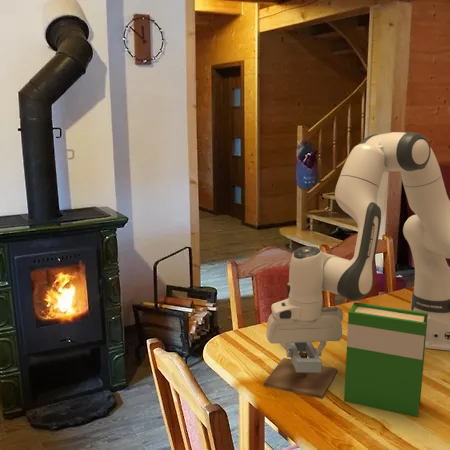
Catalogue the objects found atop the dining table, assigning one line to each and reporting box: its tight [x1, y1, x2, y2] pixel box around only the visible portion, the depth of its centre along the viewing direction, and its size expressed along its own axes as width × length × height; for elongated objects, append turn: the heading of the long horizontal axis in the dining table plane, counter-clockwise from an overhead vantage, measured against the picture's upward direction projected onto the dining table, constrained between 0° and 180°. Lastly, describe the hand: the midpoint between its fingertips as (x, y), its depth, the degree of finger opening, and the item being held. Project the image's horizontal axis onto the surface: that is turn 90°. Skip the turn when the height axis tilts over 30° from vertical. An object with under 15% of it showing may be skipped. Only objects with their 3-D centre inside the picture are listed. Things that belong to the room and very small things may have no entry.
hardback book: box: [343, 301, 428, 418], centre depth 135 cm, size 18×7×24 cm, turn 66°
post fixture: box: [263, 352, 338, 400], centre depth 148 cm, size 16×16×7 cm
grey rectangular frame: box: [287, 342, 323, 372], centre depth 147 cm, size 14×6×3 cm, turn 4°
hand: (303, 355), depth 147 cm, fingers closed on grey rectangular frame, 6 cm apart
